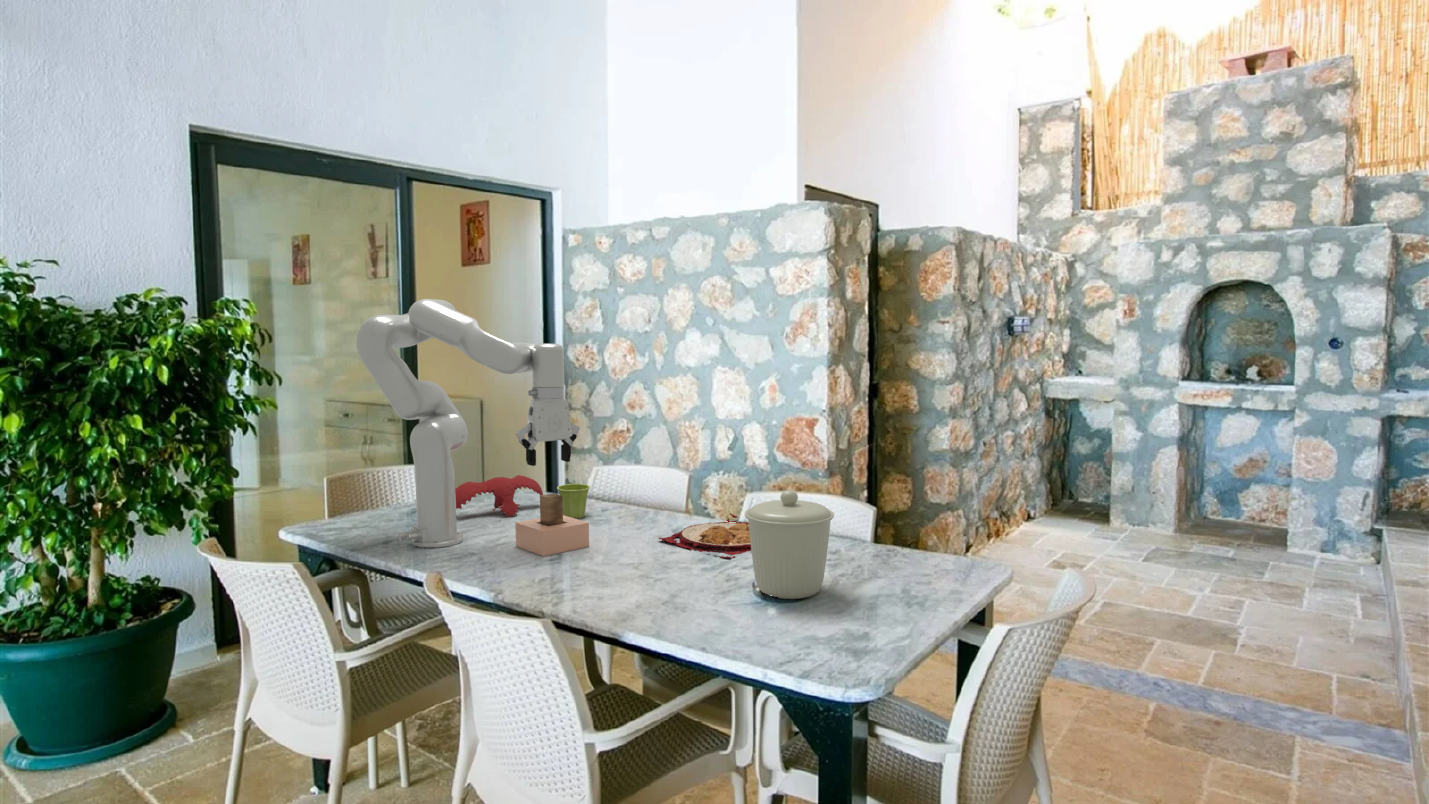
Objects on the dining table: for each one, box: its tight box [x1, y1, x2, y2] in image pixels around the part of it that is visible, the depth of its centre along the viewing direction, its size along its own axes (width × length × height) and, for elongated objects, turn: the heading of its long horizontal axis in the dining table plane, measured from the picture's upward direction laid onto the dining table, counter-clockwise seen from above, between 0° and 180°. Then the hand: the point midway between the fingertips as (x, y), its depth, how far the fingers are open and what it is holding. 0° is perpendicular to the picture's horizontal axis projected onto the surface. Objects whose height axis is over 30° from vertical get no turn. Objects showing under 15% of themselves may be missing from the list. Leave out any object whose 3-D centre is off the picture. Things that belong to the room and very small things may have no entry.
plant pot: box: [556, 483, 591, 519], centre depth 242 cm, size 9×9×9 cm
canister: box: [744, 489, 835, 600], centre depth 172 cm, size 18×18×21 cm
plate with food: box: [658, 513, 752, 560], centre depth 215 cm, size 25×26×4 cm
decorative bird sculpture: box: [455, 474, 544, 518], centre depth 247 cm, size 28×9×15 cm
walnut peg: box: [539, 493, 563, 526], centre depth 210 cm, size 4×4×12 cm
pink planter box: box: [515, 515, 590, 557], centre depth 210 cm, size 13×13×6 cm
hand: (548, 463), depth 208 cm, fingers open, 9 cm apart
